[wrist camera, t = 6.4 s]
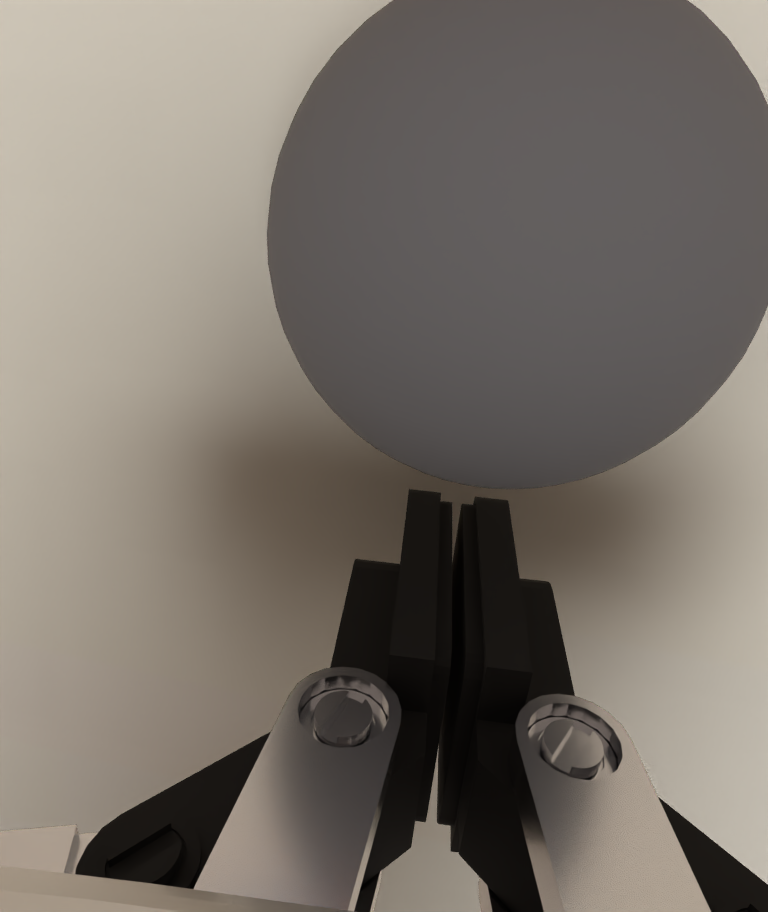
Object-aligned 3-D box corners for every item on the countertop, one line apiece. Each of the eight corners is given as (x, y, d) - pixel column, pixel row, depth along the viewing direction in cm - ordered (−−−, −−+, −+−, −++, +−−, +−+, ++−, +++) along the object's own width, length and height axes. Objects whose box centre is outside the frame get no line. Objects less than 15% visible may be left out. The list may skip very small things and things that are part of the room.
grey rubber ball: (859, -232, 3) (649, -195, 7) (57, 254, 5) (241, 74, 9) (914, 516, 6) (744, 247, 10) (389, 628, 8) (421, 371, 12)
